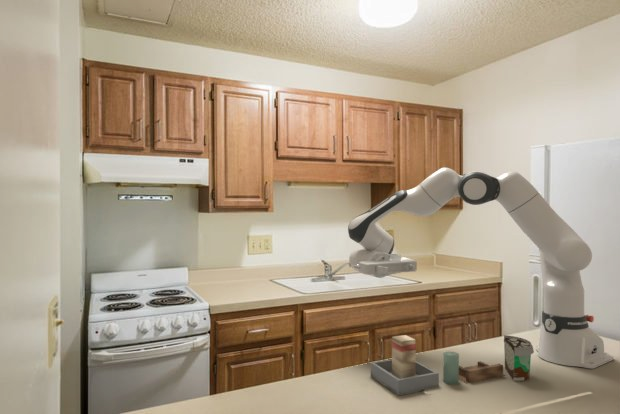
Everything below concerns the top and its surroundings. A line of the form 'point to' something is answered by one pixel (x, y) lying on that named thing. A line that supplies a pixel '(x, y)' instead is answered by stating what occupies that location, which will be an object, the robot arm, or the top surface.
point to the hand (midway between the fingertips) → (401, 269)
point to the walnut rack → (480, 372)
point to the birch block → (403, 356)
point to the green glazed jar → (451, 368)
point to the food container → (517, 357)
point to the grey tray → (404, 385)
